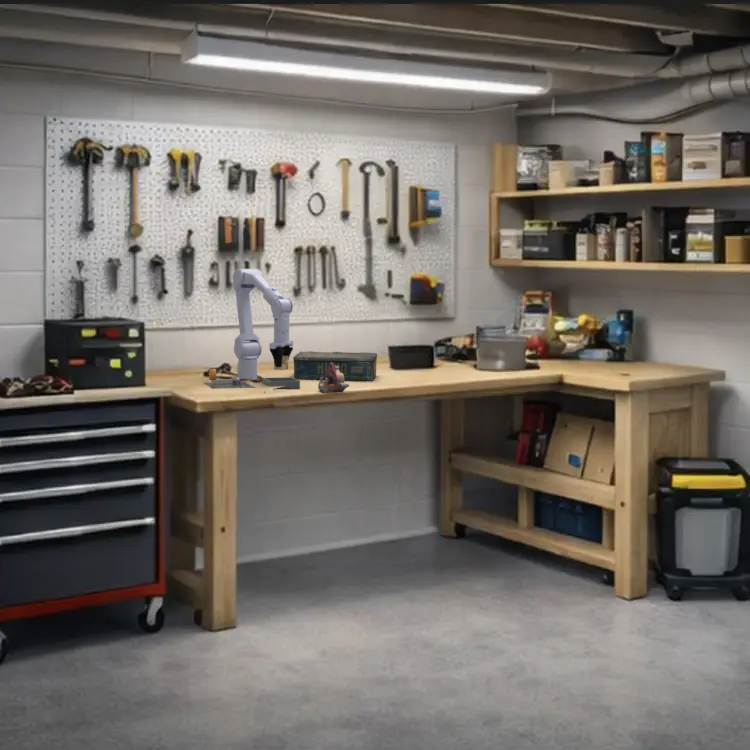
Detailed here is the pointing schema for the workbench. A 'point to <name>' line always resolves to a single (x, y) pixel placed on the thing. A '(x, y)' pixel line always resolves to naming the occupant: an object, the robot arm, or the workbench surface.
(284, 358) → the block
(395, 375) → the workbench surface
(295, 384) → the tray
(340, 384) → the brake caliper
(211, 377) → the crank
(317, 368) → the metal box
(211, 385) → the crank base
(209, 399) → the workbench surface
